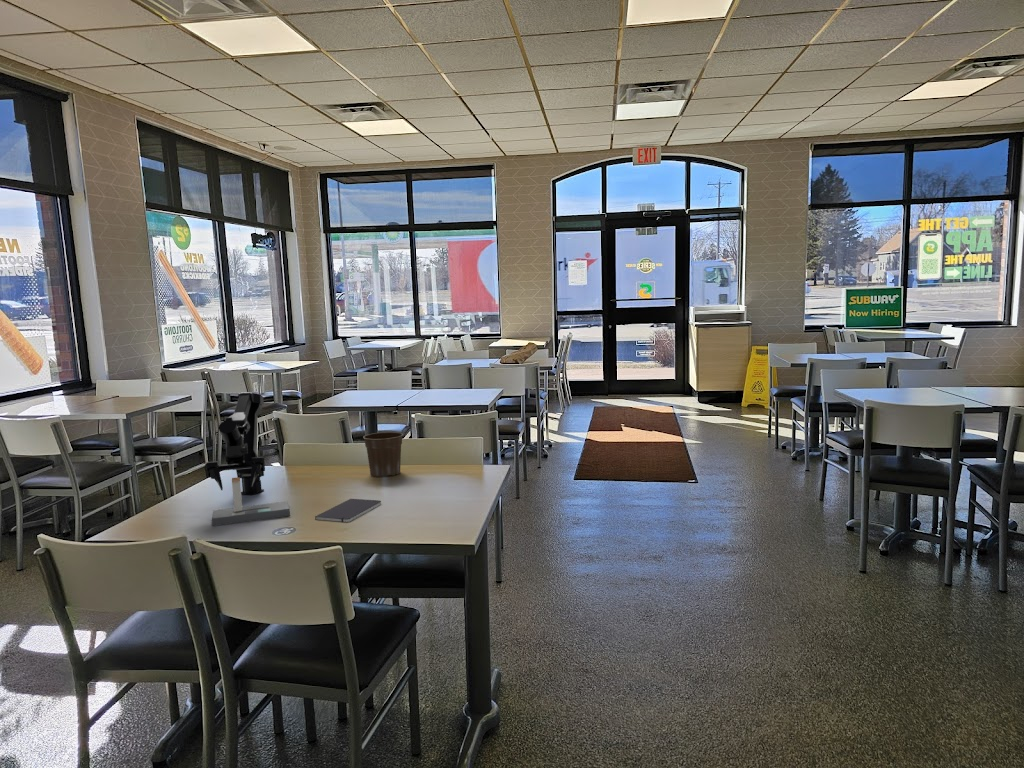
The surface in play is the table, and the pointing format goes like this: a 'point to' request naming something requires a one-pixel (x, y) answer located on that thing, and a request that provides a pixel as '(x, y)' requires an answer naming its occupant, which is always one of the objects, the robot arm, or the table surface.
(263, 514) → the switch housing
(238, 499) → the slide lever
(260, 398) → the robot arm
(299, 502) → the table surface
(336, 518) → the notebook
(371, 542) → the table surface
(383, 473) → the plant pot
